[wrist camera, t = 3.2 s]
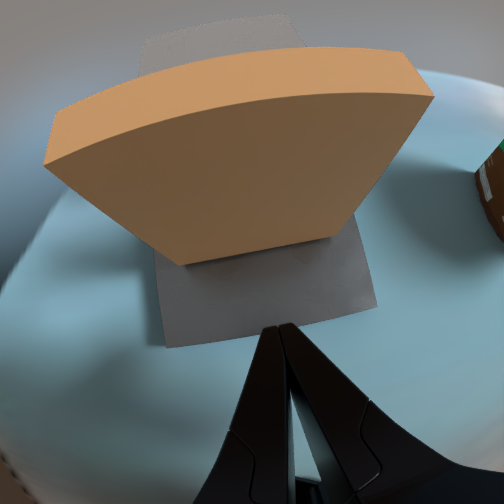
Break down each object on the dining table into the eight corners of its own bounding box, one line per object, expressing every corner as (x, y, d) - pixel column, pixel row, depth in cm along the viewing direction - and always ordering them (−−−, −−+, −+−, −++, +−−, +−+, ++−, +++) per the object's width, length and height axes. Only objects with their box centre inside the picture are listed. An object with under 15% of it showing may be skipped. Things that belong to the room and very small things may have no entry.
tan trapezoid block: (336, 235, 14) (435, 96, 4) (179, 265, 14) (42, 165, 4) (304, 135, 15) (328, -20, 6) (169, 160, 15) (94, 21, 6)
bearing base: (367, 308, 15) (459, 291, 7) (175, 346, 15) (88, 365, 7) (307, 110, 18) (322, 12, 10) (156, 138, 18) (108, 51, 10)
